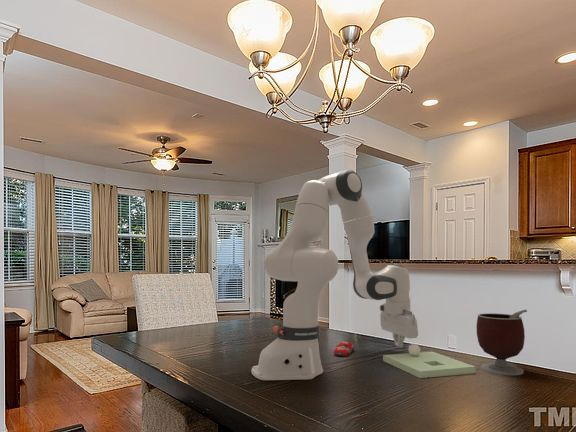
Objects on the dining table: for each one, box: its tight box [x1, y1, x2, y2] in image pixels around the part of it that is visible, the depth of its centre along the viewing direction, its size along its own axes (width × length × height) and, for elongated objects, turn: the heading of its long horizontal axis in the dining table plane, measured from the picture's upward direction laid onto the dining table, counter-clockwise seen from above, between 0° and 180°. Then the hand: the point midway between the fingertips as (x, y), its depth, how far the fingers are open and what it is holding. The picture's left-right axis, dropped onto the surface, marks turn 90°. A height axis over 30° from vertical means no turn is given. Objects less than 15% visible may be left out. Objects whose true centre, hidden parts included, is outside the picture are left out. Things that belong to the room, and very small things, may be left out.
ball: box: [408, 343, 421, 356], centre depth 146 cm, size 4×4×4 cm
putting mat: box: [382, 351, 477, 379], centre depth 139 cm, size 20×22×2 cm
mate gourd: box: [476, 309, 528, 376], centre depth 136 cm, size 16×14×20 cm
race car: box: [333, 341, 355, 357], centre depth 159 cm, size 13×5×4 cm, turn 156°
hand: (398, 346), depth 156 cm, fingers closed
